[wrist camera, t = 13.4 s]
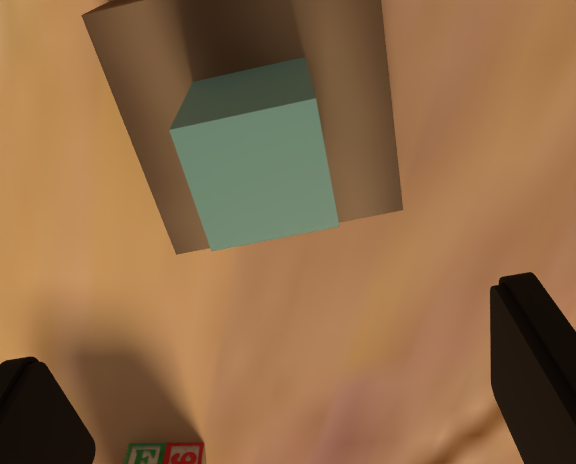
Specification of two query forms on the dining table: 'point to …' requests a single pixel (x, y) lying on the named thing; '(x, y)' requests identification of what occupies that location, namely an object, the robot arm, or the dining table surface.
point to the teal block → (255, 155)
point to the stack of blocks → (166, 453)
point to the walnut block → (243, 56)
